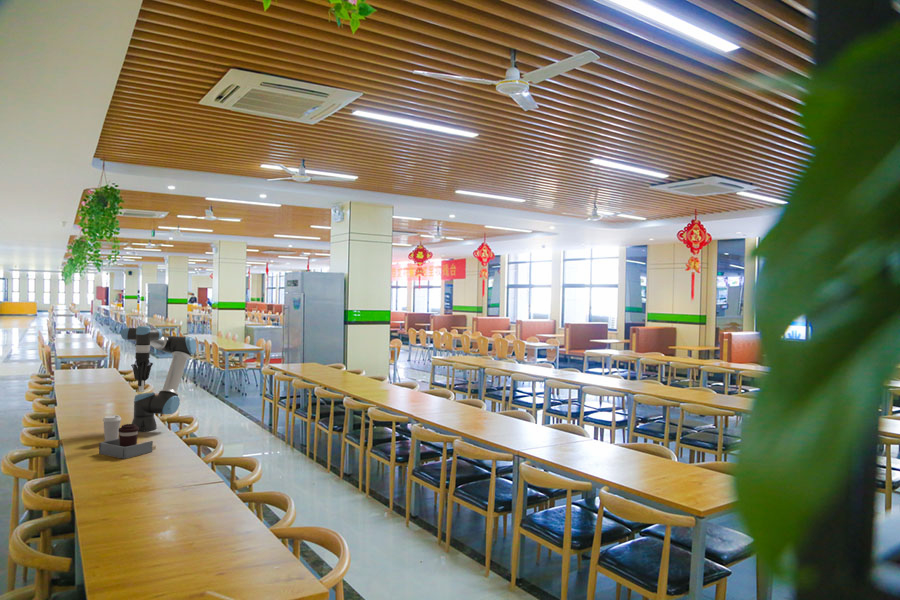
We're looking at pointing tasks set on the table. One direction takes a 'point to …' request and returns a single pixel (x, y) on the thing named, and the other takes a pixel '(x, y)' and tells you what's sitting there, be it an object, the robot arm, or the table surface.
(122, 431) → the coffee cup
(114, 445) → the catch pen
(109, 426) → the coffee cup
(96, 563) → the table surface
